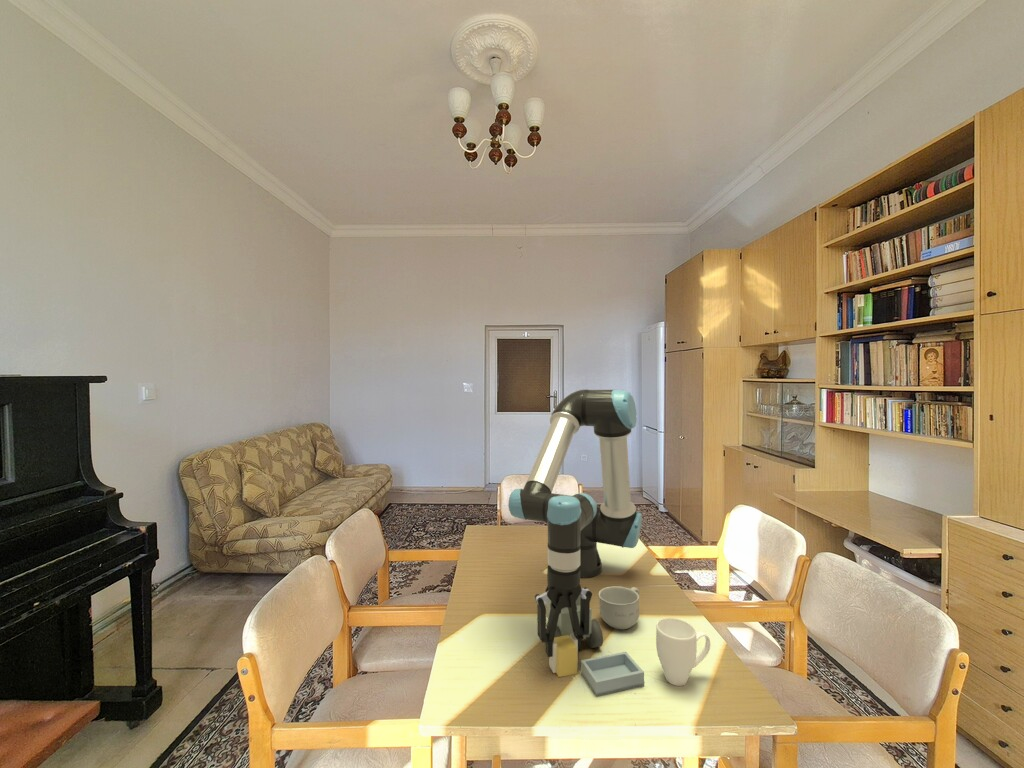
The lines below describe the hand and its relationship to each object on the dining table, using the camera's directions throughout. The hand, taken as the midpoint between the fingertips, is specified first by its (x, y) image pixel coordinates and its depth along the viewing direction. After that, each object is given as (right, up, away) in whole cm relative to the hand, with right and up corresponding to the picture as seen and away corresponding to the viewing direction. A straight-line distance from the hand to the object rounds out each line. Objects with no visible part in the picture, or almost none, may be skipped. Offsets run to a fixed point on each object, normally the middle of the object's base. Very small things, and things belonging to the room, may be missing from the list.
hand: (563, 666), depth 99 cm
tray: (+10, 0, -4) cm, 11 cm away
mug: (+26, 0, -4) cm, 27 cm away
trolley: (+3, 0, +10) cm, 11 cm away
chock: (0, 0, 0) cm, 0 cm away
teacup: (+19, 0, +19) cm, 27 cm away
